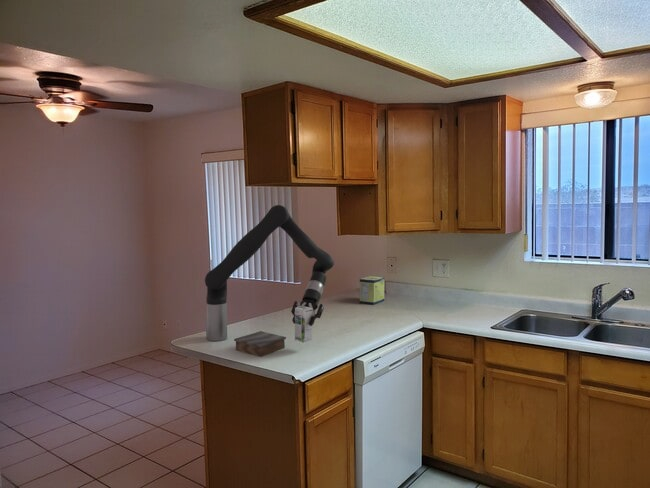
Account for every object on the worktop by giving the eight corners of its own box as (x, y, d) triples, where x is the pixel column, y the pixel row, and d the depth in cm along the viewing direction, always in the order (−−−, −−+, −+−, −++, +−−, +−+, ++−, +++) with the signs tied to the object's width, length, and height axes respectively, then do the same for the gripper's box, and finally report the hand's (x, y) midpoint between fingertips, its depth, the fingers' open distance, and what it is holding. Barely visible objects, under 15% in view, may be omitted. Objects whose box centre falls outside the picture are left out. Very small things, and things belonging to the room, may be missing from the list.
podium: (234, 350, 212) (234, 338, 212) (260, 341, 225) (260, 331, 224) (260, 357, 202) (259, 345, 202) (286, 348, 215) (286, 337, 214)
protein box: (384, 300, 316) (384, 277, 314) (373, 305, 302) (374, 280, 301) (370, 299, 321) (370, 275, 320) (359, 303, 308) (359, 279, 307)
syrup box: (294, 340, 212) (294, 307, 211) (304, 337, 216) (304, 305, 215) (302, 342, 208) (302, 309, 206) (312, 340, 212) (313, 307, 211)
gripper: (296, 286, 219) (284, 317, 210) (325, 289, 214) (314, 321, 204) (301, 296, 225) (290, 326, 215) (330, 298, 219) (319, 330, 210)
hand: (302, 324), depth 210 cm, fingers closed on syrup box, 7 cm apart
